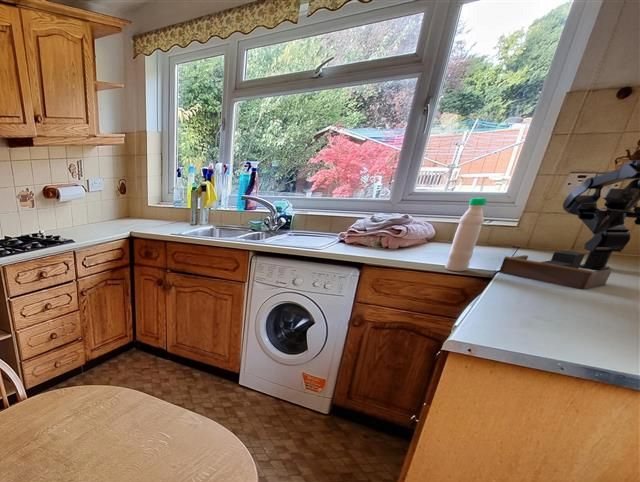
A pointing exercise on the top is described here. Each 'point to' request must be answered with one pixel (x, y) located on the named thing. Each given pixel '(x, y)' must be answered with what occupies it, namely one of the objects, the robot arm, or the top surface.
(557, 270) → the brown shallow tray
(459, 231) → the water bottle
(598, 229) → the robot arm
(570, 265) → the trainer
